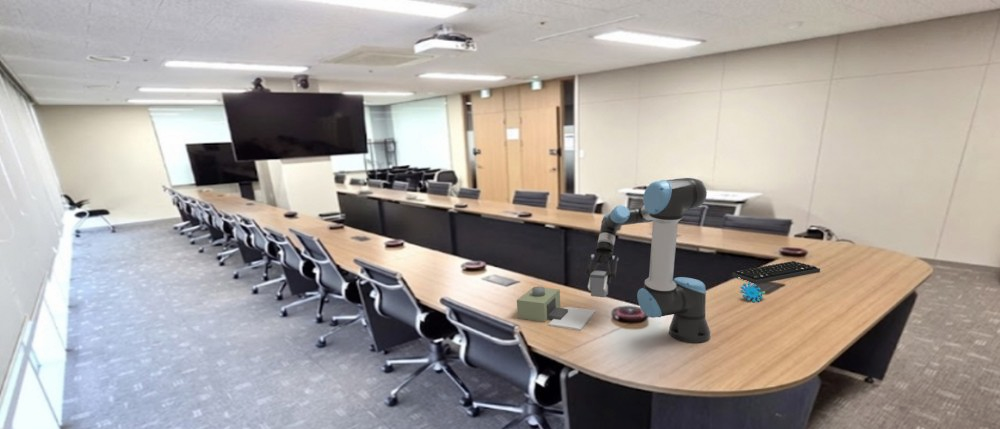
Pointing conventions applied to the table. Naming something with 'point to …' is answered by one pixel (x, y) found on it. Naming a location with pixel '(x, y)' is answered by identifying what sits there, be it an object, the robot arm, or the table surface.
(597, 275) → the gray lidded box
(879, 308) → the table surface
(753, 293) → the blue virus model
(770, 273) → the computer keyboard
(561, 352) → the table surface
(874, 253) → the table surface
